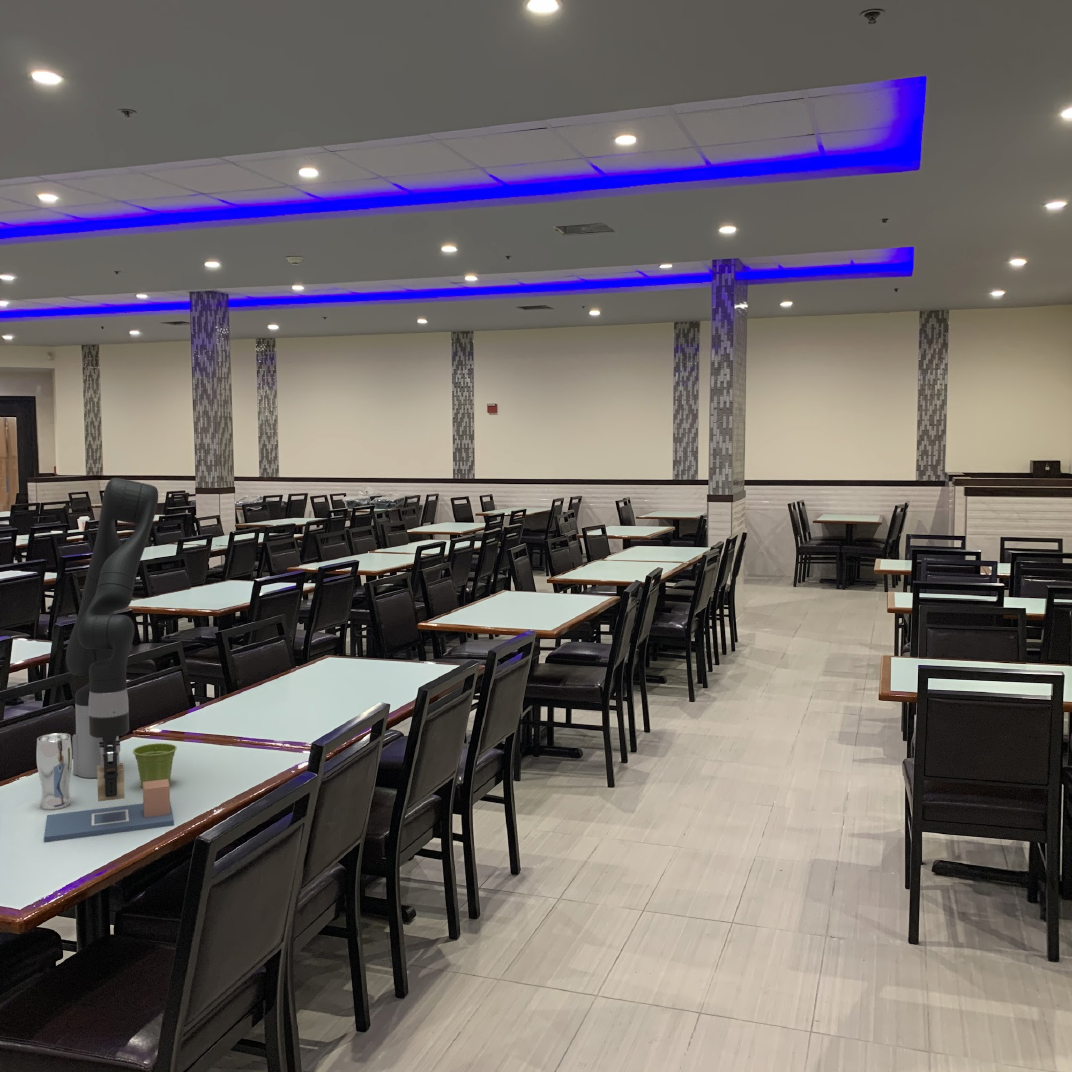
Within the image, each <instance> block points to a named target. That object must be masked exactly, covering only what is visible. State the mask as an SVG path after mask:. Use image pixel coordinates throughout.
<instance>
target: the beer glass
mask: <svg viewBox="0 0 1072 1072" xmlns="http://www.w3.org/2000/svg"><path fill="white" fill-rule="evenodd" d="M71 739H72V735H71V734H69V733H67V732H65V733H63V732H58V733H57V732H56V733H49V734H48V733H47V734H44V735H41V736H39V737H37V738H36V766H37V771H38V778H39V781H40V786H41V799H40V805H39V808H40V809H42V810H45V811H48V810H49V811H50V810H53V811H54V810H60V809H64V808H67V807H69V806H70V805H72V798H71V795H70V778H71V773H72V772H71V771H72V768H73V744H72V740H71Z"/></svg>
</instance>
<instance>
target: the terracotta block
mask: <svg viewBox="0 0 1072 1072" xmlns="http://www.w3.org/2000/svg"><path fill="white" fill-rule="evenodd" d="M170 790H171V789H170V784H169V781H168V779H164V780H155V781H146V782H143V787H142V798H143V799H142V800H143V802H142V803H143V810H144V817H152V816H160V815H168V814H170V803H171V799H170V798H171V797H170V794H171V793H170V792H171V791H170Z"/></svg>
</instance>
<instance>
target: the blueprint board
mask: <svg viewBox="0 0 1072 1072" xmlns="http://www.w3.org/2000/svg"><path fill="white" fill-rule="evenodd" d="M171 804H172V803H171V802H170V814H168V815H160V816H152V817H144V810H143V802H142V803H137V804H136V803H135V804H128V805H127V804H126V805H118V806H112V807H111V806H110V807H103V808H95V809H93V808H92V809H85V810H79V811H78V810H76V811H70V812H69V811H68V812H60V813H53V814H52V813H51V814H47V815H46V821H45V826H44V827H45V828H44V834H43V835H44V836H43V842H44V843H50V842H56V841H64V840H70V839H77V838H79V839H80V838H86V837H87V838H88V837H94V836H100V835H108V834H109V835H110V834H117V833H123V832H131V831H139V830H141V831H142V830H147V829H148V830H149V829H156V828H162V827H170V826H174V825H175V819H174V815H173V809H172V805H171Z"/></svg>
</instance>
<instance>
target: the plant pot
mask: <svg viewBox="0 0 1072 1072" xmlns="http://www.w3.org/2000/svg"><path fill="white" fill-rule="evenodd" d="M177 749H178V748H177V745H175V744H172V743H163V742H162V743H158V742H157V743H150V744H143V745H141V746H137V747H135V748H134V749H132V754H133V755H134V759H136V763H137V770H138V773H139V774H138V775H139V780H140V787H141V788H143V782H146V781H155V780H164V779H168V781H169V785H170V783H171V776H172V775H171V774H172V768H173V760H174V757H175V754H176V751H177Z"/></svg>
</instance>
